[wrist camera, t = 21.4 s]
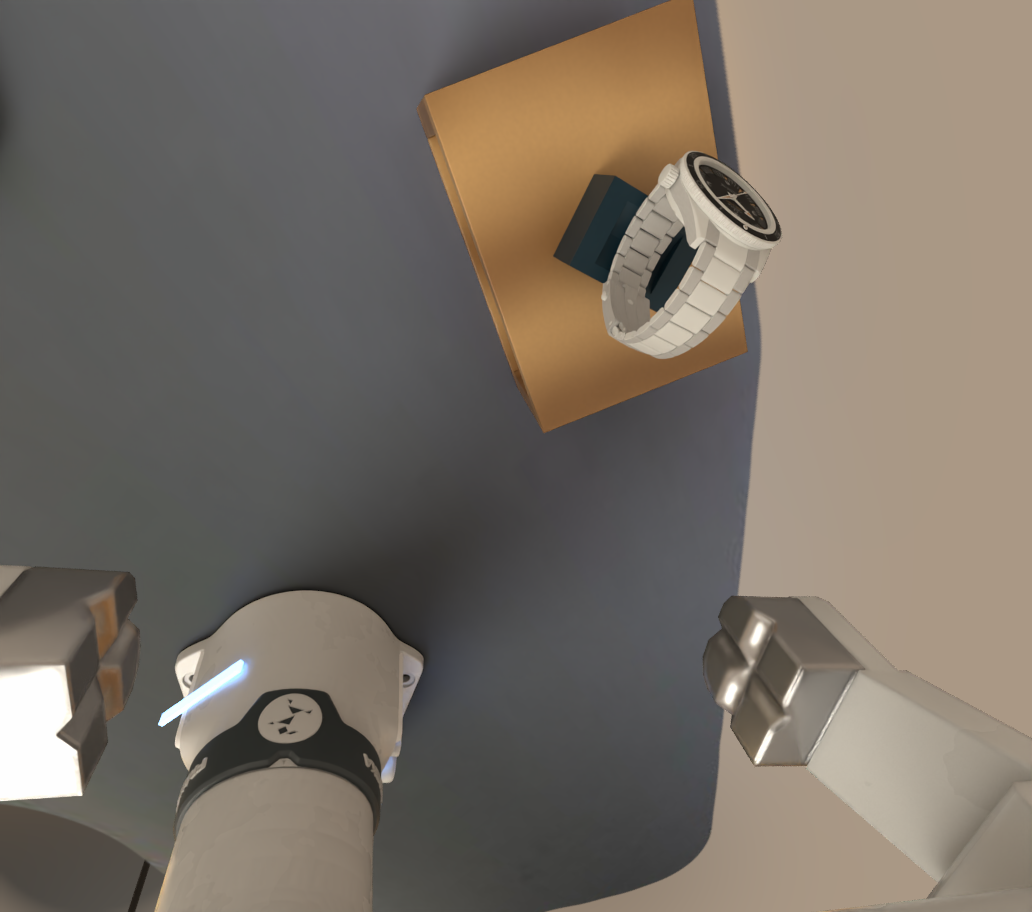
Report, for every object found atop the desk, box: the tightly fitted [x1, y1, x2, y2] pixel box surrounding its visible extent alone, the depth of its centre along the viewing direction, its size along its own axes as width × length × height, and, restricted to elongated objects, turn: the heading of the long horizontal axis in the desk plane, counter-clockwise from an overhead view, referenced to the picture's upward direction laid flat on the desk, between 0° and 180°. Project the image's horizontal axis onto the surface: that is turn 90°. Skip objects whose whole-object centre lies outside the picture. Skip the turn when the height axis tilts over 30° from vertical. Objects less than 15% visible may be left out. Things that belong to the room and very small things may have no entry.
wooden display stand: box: [417, 0, 748, 433], centre depth 35 cm, size 18×13×8 cm
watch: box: [553, 151, 782, 359], centre depth 27 cm, size 6×8×11 cm
